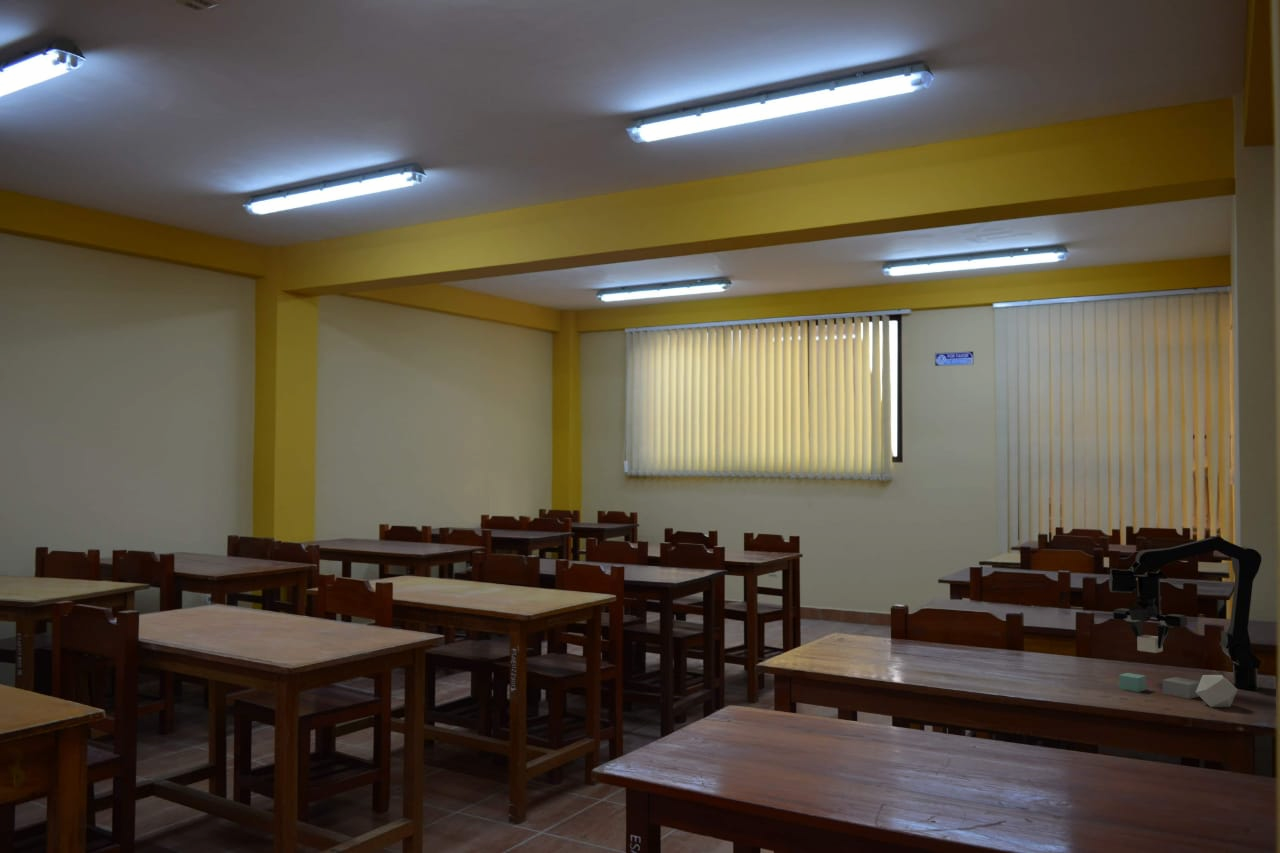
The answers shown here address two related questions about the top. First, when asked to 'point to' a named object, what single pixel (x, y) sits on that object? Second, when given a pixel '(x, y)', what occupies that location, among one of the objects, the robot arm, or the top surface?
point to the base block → (1180, 687)
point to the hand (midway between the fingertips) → (1150, 646)
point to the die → (1216, 690)
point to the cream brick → (1148, 644)
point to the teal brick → (1132, 682)
